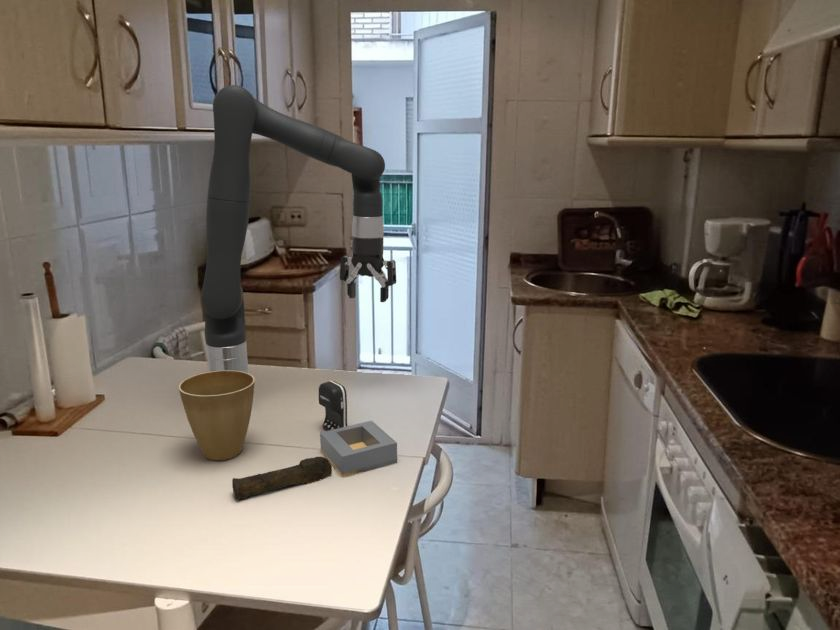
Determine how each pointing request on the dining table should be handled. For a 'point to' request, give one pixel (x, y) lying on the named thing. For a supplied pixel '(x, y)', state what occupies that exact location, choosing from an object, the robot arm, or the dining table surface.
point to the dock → (358, 448)
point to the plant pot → (219, 410)
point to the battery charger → (333, 404)
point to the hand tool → (282, 477)
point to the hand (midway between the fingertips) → (367, 299)
